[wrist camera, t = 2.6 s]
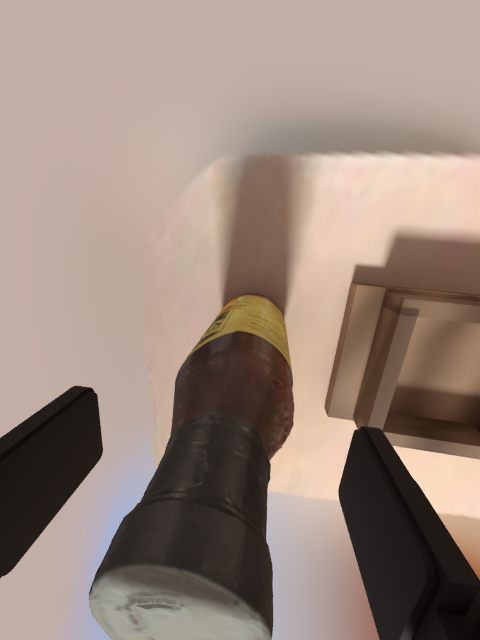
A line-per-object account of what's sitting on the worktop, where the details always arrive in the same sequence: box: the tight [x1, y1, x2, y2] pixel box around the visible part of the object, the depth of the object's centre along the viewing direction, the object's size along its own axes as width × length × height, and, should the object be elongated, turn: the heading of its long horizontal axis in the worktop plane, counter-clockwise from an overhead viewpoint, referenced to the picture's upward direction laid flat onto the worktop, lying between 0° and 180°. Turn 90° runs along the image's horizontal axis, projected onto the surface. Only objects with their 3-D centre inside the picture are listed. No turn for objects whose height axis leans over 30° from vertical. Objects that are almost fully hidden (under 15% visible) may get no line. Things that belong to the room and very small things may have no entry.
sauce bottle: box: [89, 294, 294, 640], centre depth 14 cm, size 7×6×20 cm
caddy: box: [325, 283, 480, 459], centre depth 20 cm, size 16×13×4 cm
